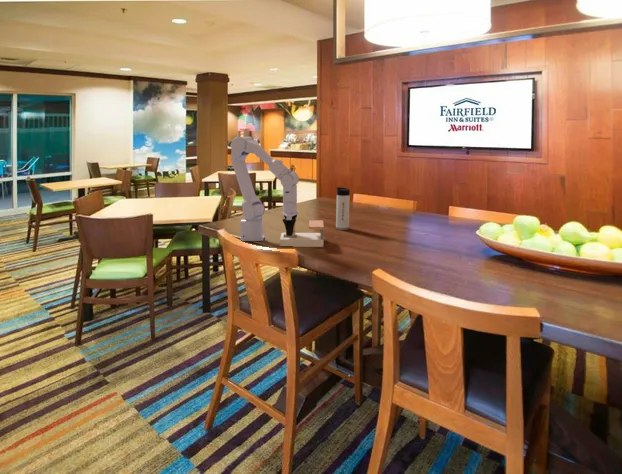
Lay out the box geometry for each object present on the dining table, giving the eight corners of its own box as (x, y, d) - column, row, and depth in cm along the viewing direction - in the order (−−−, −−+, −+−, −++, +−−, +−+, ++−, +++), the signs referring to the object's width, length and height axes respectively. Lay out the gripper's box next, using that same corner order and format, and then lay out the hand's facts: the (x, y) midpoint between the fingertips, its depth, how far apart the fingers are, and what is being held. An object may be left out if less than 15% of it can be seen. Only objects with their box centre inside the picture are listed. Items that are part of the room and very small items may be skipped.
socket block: (279, 246, 176) (279, 226, 173) (281, 239, 188) (281, 220, 186) (323, 247, 175) (323, 226, 173) (322, 239, 188) (322, 220, 186)
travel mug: (340, 226, 213) (341, 186, 208) (351, 228, 209) (352, 187, 204) (332, 228, 209) (333, 187, 204) (344, 230, 205) (345, 189, 200)
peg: (285, 243, 180) (285, 224, 178) (285, 240, 184) (285, 222, 182) (294, 243, 180) (295, 224, 178) (295, 240, 184) (295, 222, 182)
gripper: (299, 204, 170) (299, 237, 174) (300, 198, 185) (300, 229, 188) (281, 204, 170) (281, 237, 174) (283, 198, 185) (283, 229, 188)
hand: (290, 233), depth 181 cm, fingers open, 7 cm apart
